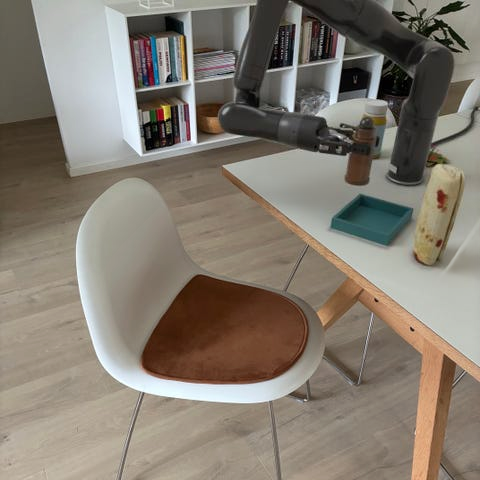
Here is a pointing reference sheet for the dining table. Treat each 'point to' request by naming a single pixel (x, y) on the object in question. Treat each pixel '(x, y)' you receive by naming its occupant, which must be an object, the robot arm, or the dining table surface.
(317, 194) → the dining table surface
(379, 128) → the bottle
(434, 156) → the lily flower
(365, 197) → the tray
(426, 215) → the food model
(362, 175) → the pepper mill
